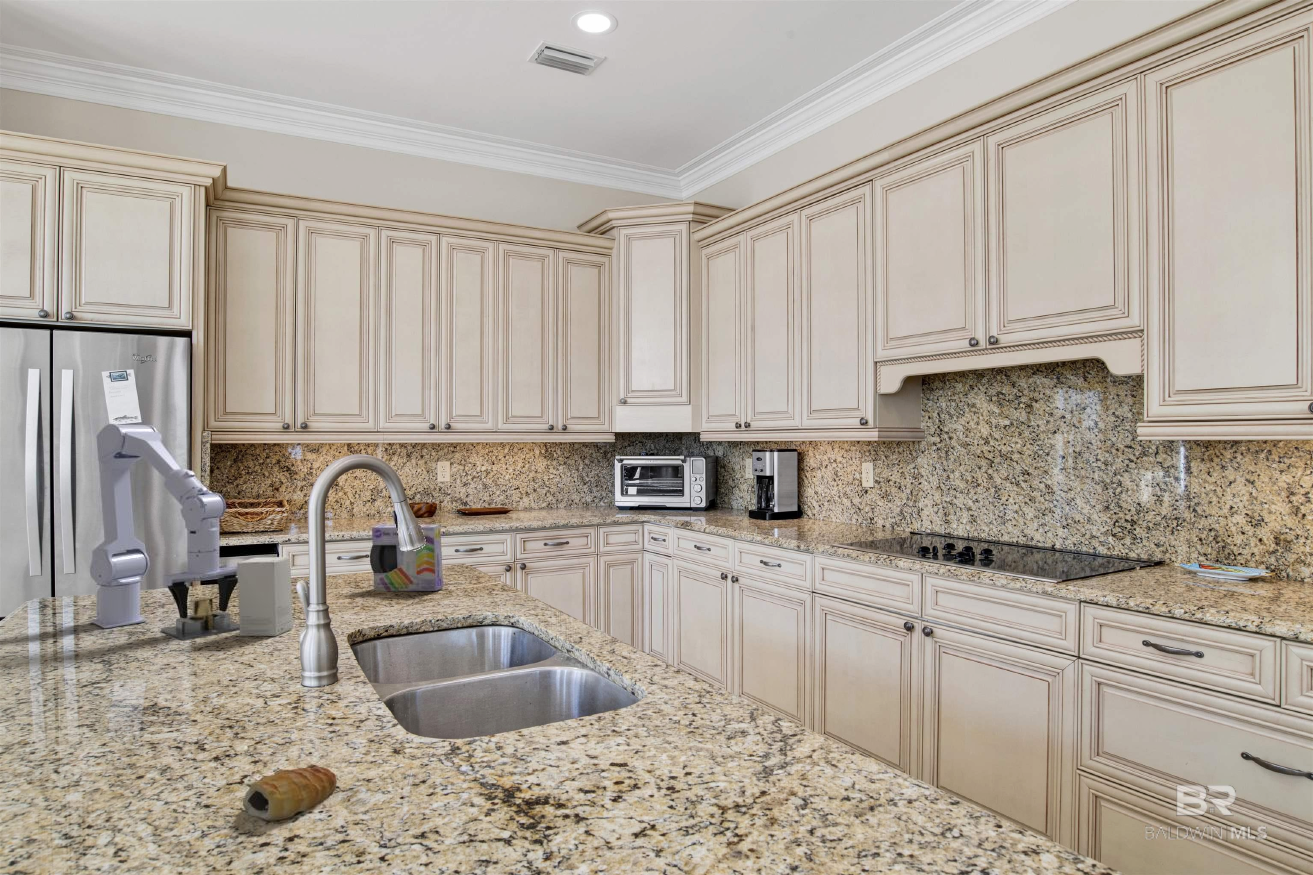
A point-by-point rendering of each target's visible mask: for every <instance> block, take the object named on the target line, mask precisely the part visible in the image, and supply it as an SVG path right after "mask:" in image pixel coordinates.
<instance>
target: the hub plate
mask: <svg viewBox="0 0 1313 875" xmlns="http://www.w3.org/2000/svg"><path fill="white" fill-rule="evenodd" d="M162 631H163V633H165V634H167V633H168V634H167V635H169V634H170V635H169V636H172V637H174V636H175V637H174V638H176V637H177V638H176V639H179V640H181V639H182V640H181V641H187V640H186V639H188V640H192V638H193V639H198V638H197V637H199V638H203V637H202V636H204V637H208V635H209V636H213V635H212V634H214V635H219V634H223V633H230V632H235V631H240V624H239V623H238V622H235V621H231V613H228V612H227V611H226V612H222V611H213V629H210V630H207V629H205V620H193V613H192V614H188V615H187V618H184V619H183V618H180V617H179V618H177V619H176V621H175V625H174V626H168V627H162V628H160V632H162ZM218 633H219V634H218Z"/></svg>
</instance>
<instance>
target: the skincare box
mask: <svg viewBox="0 0 1313 875" xmlns="http://www.w3.org/2000/svg"><path fill="white" fill-rule="evenodd" d="M291 563H292V562H291V556H282V557H281V556H277V557H275V556H274V557H273V556H272V557H271V556H270V557H269V556H268V557H266V556H265V557H251V558H249V559H247V560H246V559H245V560H243V561H239V562H237V565H236V566H237V570H238V576H237V578H238V583H237V592H238V593H237V594H238V617H239V618H238V620H239V623H238V624H240V630H239V636H240V637H276V636H279V635H282V634H284V633H286V632H288V631H290V630H292V629H293V628H294V627H293V625H294V624H293V622H294V621H293V598H292V596H293V595H292V592H293V591H292V569H291V568H292V567H291Z"/></svg>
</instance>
